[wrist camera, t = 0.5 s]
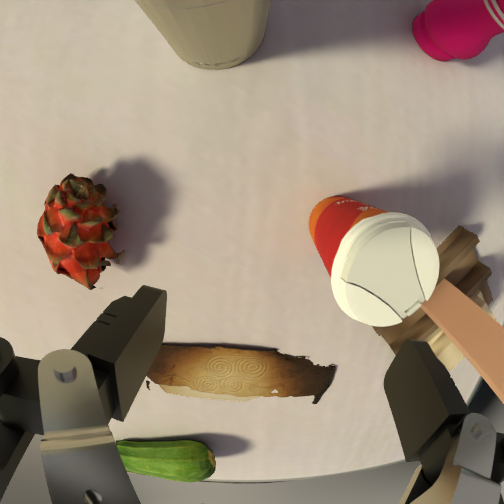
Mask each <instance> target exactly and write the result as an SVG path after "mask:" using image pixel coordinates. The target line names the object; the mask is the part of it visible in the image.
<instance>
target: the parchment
mask: <svg viewBox="0 0 504 504" xmlns="http://www.w3.org/2000/svg"><path fill="white" fill-rule="evenodd" d="M298 357H299V356H297V357H296V358H295V357H291V356H287V355H286V354H285V355H283V354H281V353H279V352H278V351H277V350H269V351H262V350H261V351H259V350H254V349H240V348H228V347H222V346H219V345H218V346H214V347H201V346H190V347H189V346H187V347H183V346H171V345H161V348H160V350H159V352H158V353H157V355H156V357H155V359H154V361H153V363H152V365H151V367H150V369H149V371H148V373H147V375H146V376H147V377H148V378H150V379H151V381H153V382H154V383H156V384H159V385H160V387H161V388H162V389H163V390H164V391H165V392H166V393H170V394H176V395H183V396H190V397H197V398H206V399H217V400H230V401H248V400H251V399H254V398H258V397H261V396H264V397H271V396H278V397H289V396H293V397H299V396H310V395H314V397H315V399H314V401H313V403H312V404H317V402H318V401H319V399H320V397H321V396H322V394H323V393H325V391H326V390H327V389H328V388H329V386H330V384H331V382H332V378H333V375H334V372H335V368H336V367H335V366H331V364H330V365H329V367H327V366H326V367H325V366H322V367H321V366H319V364H317V365H313V362H311V361H310V360H307V359H305V357H303V356H302V357H301V358H298ZM332 365H333V364H332ZM146 383H147V388H148V389H149V386H148V385H149V381H146ZM274 389H276V390H277V391H278V393H271V391H273V390H274ZM149 390H150V389H149Z"/></svg>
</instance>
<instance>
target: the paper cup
mask: <svg viewBox="0 0 504 504" xmlns="http://www.w3.org/2000/svg"><path fill="white" fill-rule="evenodd" d="M309 230H310V233H311V236H312V239H313V241H314V243H315V245H316V248H317V250H318V252H319V254H320V256H321V258H322V260H323V262H324V265H325V267H326V269H327V271H328V273H329V275H330V277H331V285H332V290H333V295H334V297H335V299H336V302H337V303H338V305H339V306H340V308H341V309H342V310H343V311H344V312H345V313H346V314H347V315H348V316H350V317H351V318H353V319H355V320H358V321H360V322H363V323H366V324H368V325H372V326H379V327H385V326H392V325H395V324H398V323H401V322H403V321H402V320H401V318H402V319H404V318H405V317H406V316H407V315H408V316H410V315H412V314H413V313H414V312H415V311H416V310H418V309H419V308H420V307H421V304H422V303H423V302H424V301H425V300H427V301H428V299H429V298H430V296H431V295H432V293H433V291H434V289H435V286H436V283H437V280H438V275H439V256H438V252H437V249H436V246H435V244H434V242H433V240H432V237H431V235H430V233H429V232H428V230H427V228H426V227H425V226H424V225H423V224H422V223H421V222H420V221H418V220H417V219H415V218H414V217H412V216H409V215H407V214H403V213H398V212H389V213H388V212H386V211H383V210H380V209H378V208H375V207H372V206H369V205H367V204H364V203H361V202H358V201H355V200H352V199H349V198H345V197H340V196H334V197H329V198H326V199H324V200H322V201H321V202H319V203H318V204H317V205H316V206H315V208H314V209H313V211H312V213H311V215H310V219H309Z"/></svg>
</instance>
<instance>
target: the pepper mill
mask: <svg viewBox="0 0 504 504" xmlns="http://www.w3.org/2000/svg"><path fill="white" fill-rule="evenodd" d="M412 27H413V34H414V37H415V39H416V41H417V43H418V44H419V46H420V47H421V48H422V49H423V51H424V52H425V53H427V54H428V55H429V56H430V57H432V58H434V59H436V60H439V61H448V60H451V59H454V58H458V59H470V58H473V57H475V56H477V55H479V54H480V53H481V52H482V51H483V50H484V49H485V47H486V46H487V44H488V43H489V41H490V39H491V38H492V37H494V36H495V35H498V34H500V33H503V32H504V0H433V1H431V2H430V3H429V4H428V6H427V7H426V10H425V11H424V12H423V13H421V14H419V15H418V16H417V17H415V19H414V21H413V26H412Z"/></svg>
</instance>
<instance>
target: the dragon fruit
mask: <svg viewBox="0 0 504 504" xmlns="http://www.w3.org/2000/svg"><path fill="white" fill-rule="evenodd" d="M105 198H106V188H105V187H104V186H103V185H102V184H98V185H94V184H93V182H92V180H91V179H89V178H85V177H77V176H75V175H73V174H71V173H70V174H69V175H68V176H67V177H65V178H64V179H63V180H62V181H61V183H60V186H59V185H54V187H53V188H52V189H51V190H50V192H49V194H48V197H47V199H46V201H45V203H44V205H45V211H44V213H43V215H42V216H41V218H40V220H39V223H38V229H37V235H38V238H39V239H40V241H41V242H42V244H43V246H44V248H45V251H46V253H47V255H48V258H49V260H50V263H51V265H52V268H53V270H54V271H55V272H56V273H57V274H64V275H66V276H68V277H70V278H71V279H74V280H75V281H77V282H78V283H80V284H82V285H84V286H85V287H87V288H88V289H89V290H92V289H94V288H96V287H95V286H93V285H94V284H95V283H96V282H97V281H98V280H99V277H100V273H101V272H102V271H104V270H105V269H106V266H111V264H110V262H109V261H106V260H105V258H108V259H116V258H117V260H116V264H119V263H120V261H121V260H122V259H123V257H124V254H125V250H123V251H122V252H121V253H116V252H115V251H114V250H113V249H112V248H111V246H110V245H109V243H108V241H109V240H110V239H111V238H113V237H114V232H115V231H116V230H117V225H116V224H115V221H114V218H115V217H116V216H117V215H118V212H119V208H118V205H117V204H113V205H112V206H113V207H115V208H108V207H106V206H103V202H104V201H105ZM108 222H110V225H108V224H107V223H108ZM102 288H103V287H102Z"/></svg>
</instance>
